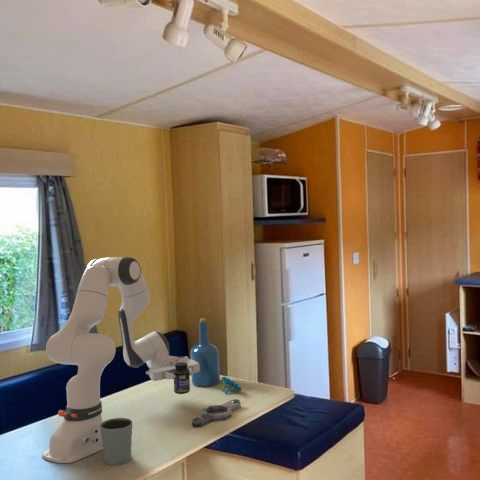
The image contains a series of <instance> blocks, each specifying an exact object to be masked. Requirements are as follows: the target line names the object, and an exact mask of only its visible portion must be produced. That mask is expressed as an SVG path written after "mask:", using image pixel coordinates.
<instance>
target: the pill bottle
mask: <svg viewBox="0 0 480 480" xmlns="http://www.w3.org/2000/svg"><path fill="white" fill-rule="evenodd" d="M175 368H176V370H174V374H175V377H176V378H175V379H173V391H174V394H176V395H177V394H178V395H185V394H188V393H189V392H190V391H191V383H190V382H191V381H190V376H189V370H188V369H187V363H185V362H180V363H176V364H175Z"/></svg>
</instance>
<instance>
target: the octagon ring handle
mask: <svg viewBox="0 0 480 480" xmlns="http://www.w3.org/2000/svg"><path fill="white" fill-rule="evenodd" d="M241 406H242V405H241V401H240V399H238V398H237V399H236V398H235V399H231V400H229V401H226V402H225V403H222V404H217V405H215V404H214V405H209V406H207V407H205V408H203V409H202V416H201V417H197V416H196V417H193V418H191V426H192V428H195V429H198V428H202V427H205V426H207V425H209V424H211V423H213V422H214V423H215V422H224V421H227V420H229V419H231V418H232V413H233V412H235V411H237V410H239V409H241V408H242V407H241ZM214 413H215V414H214Z"/></svg>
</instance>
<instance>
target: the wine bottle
mask: <svg viewBox="0 0 480 480" xmlns="http://www.w3.org/2000/svg"><path fill="white" fill-rule="evenodd" d="M208 329H209V326H208V322H207V318H203V317H202V318H200V319H199V322H198V330H199V331H198V333H199V334H198V336H199V337H198V339H199V342H198V343H196V344H194V345H193V346H192V347H191V348H190V359H192V360H194V361H196V362H198V363H199V366H200V371H199V372H198V373H193V375H191V384H192V385H194V386H196V387H201V388H202V387H204V388H207V387H212V386H216V385H218V384H219V383H220V382H221V373H220V371H221V370H220V352H219V349H218V348H217V346H215V345H214V344H211V343H210V341H209V340H210V339H209V330H208Z"/></svg>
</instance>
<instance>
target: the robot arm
mask: <svg viewBox="0 0 480 480" xmlns="http://www.w3.org/2000/svg"><path fill="white" fill-rule="evenodd" d="M141 269H142V268H141V264H140V263H139V262H138V260H137V259H136V258H134V257H130V256H123V257H121V256H118V257H117V256H109V257H108V256H107V257H102V258H100V257H98V258H95V259H92V260H90V261H89V262H88V264H87V266H86V268H85V270H84V272H83V274H82V276H81V278H80V281H79V284H78V287H77V291H76V294H75V299H74V303H73V307H72V310H71V313H70V315H69V316H68V318H67V320H66V321H65V323H64V325H63V326H62V327H61V328H60V329H59V330H58V331H57V332H56V333H54V334H53V335H51V336H50V337H49V338H48V340H47V342H46V344H45V353H46V357H47V358H48V360H49V361H50V362H51V361H52V362H54V363H57V364H61V365H72V366H77V368H78V369H77V374H76V375H74V376H72V377H71V378H70V379H68V382H67V383H66V387H65V389H66V401H67V402H66V404H67V405H66V406H65V410H62V409H59V410H58V412H57V415H58V417H62V418H63V420H62V421H61V423H60V424H58V426H57V428H56V429H55V430H54V431H53V433H52V434H51V436H50V438H49V446H48V447H49V448H47V449H46V450H45V451H43V452H42V454H41V455H42V458H43V459H45V460H47V461H49V462H54V463H58V464H59V463H60V464H71V463H75V462H77V461H79V460H82V459H84V458H86V457H88V456H91V455H93V454H96V453H98V452H101V451H104V450H103V449H104V448H103V444H102V435H101V428H100V425H101V423H102V422H104V421H103V417H102V413H103V405H102V400H101V395H100V394H101V388H100V387H101V378H102V377H101V376H102V373H103V372H104V369H105V368H106V367H107V366H108V364H110V363H111V362H112V361H113V360H114V358H115V356H116V352H117V350H116V349H117V348H116V343H115V341H114V339H113V338H112V337H111V336H108V335H105V334H102V333H96V332H95V333H94V332H93V333H92V332H90V331H91V329H92V328H93V327H94V326H96V325H98V324H100V323H101V322H102V321H103V319H104V318H105V314H106V308H107V305H108V300H109V294H110V289H111V288H110V287H118V290H119V293H120V295H121V306H120V308H119V310H118V314H117V316H118V325H119V331H120V337H121V343H122V355H123V360H124V362H125V363H126V364H127V366H129V367H131V368H135V369H136V368H139V367H141V366H143V365H145V363H146V366H147V367H148V368H149V369H148V370H146V371H145V374H146V375H147V376H149V378H150V379H151V381H153V382H157V381H162V380H163V381H164V380H174V379H175V378H176V377H175V374H174V370H176V368H175V364H176V363H180V362H185V363H187V369H188V370H189V377H190V376H192V375H193V373H198V372H199V371H200V366H199V363H198V362H196V361H194V360H192V359H191V358H189V357H188V356H184V355H183V356H182V355H181V356H174V355H170V353H171V347H170V343H169V340H168V339H167V337H166V336H165V335H164V334H163V333H162V332H159V331H157V330H154V331H151V332H150V333H148V334H146V335H144V336H143V337H141V338H138V339H136V340H135V339H134V332H133V324H134V322H135V321H136V320H137V318H138V316H140V314H142V312H144V311H145V309H147V307H148V305H149V303H150V301H151V293H150V289H149V285H148V283H147V279H146V278H145V276H144V274H143V272H142V270H141Z"/></svg>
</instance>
